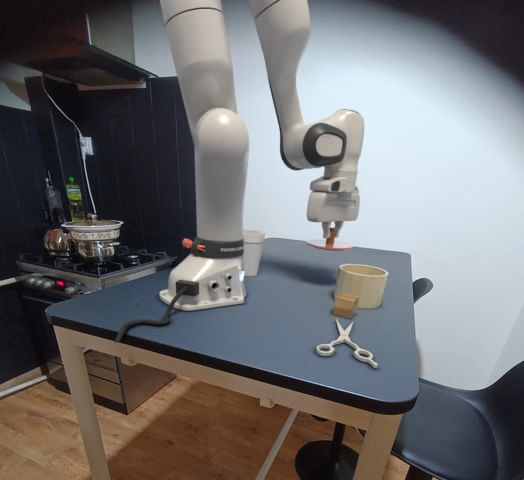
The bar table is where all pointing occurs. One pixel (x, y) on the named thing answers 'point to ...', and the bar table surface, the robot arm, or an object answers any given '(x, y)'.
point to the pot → (362, 284)
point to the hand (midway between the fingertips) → (330, 237)
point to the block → (345, 305)
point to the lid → (330, 243)
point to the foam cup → (252, 251)
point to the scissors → (346, 339)
